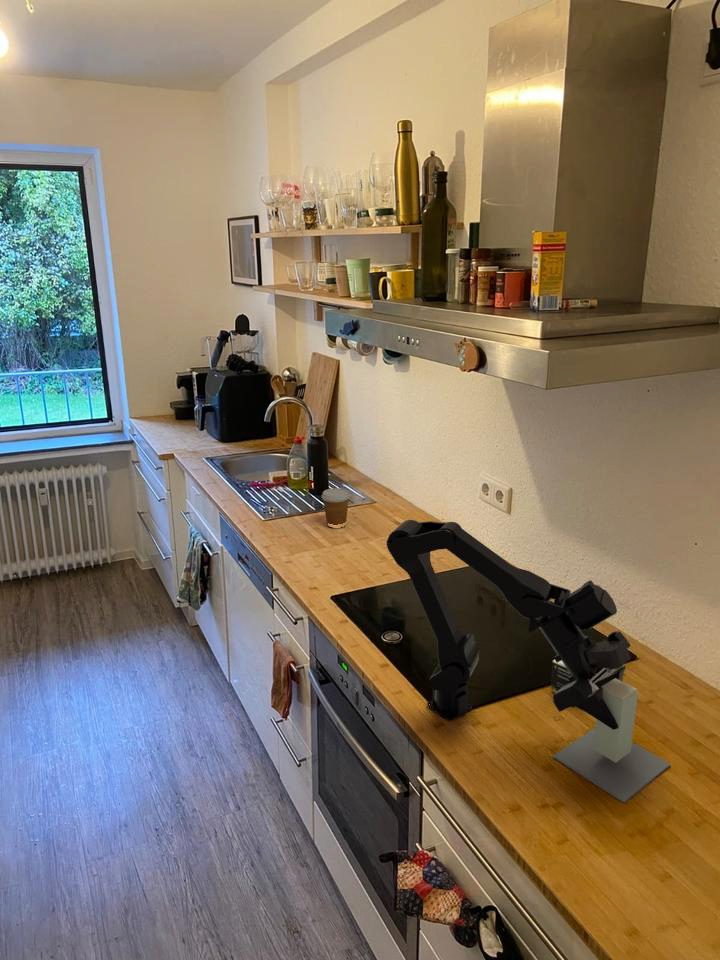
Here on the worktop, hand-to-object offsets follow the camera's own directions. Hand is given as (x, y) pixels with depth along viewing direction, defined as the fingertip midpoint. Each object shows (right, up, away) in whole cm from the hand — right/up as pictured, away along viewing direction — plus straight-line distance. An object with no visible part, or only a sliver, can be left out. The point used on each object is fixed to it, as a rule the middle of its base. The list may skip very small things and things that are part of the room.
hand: (622, 721), depth 118 cm
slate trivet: (-1, -8, +4) cm, 9 cm away
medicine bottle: (-1, -2, +24) cm, 24 cm away
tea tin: (-1, -6, +3) cm, 7 cm away
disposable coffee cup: (-53, +25, +118) cm, 131 cm away
